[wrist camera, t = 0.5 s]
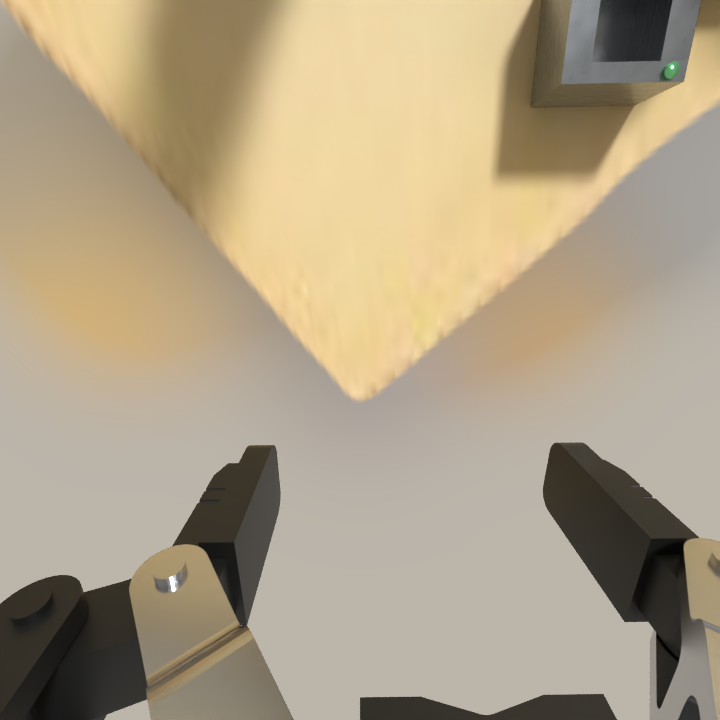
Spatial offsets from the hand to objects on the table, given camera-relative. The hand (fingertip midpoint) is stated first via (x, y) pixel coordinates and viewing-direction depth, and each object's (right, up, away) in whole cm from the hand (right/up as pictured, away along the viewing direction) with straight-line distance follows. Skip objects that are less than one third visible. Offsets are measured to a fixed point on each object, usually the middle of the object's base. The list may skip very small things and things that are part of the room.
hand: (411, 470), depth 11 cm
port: (+18, +29, +20) cm, 39 cm away
